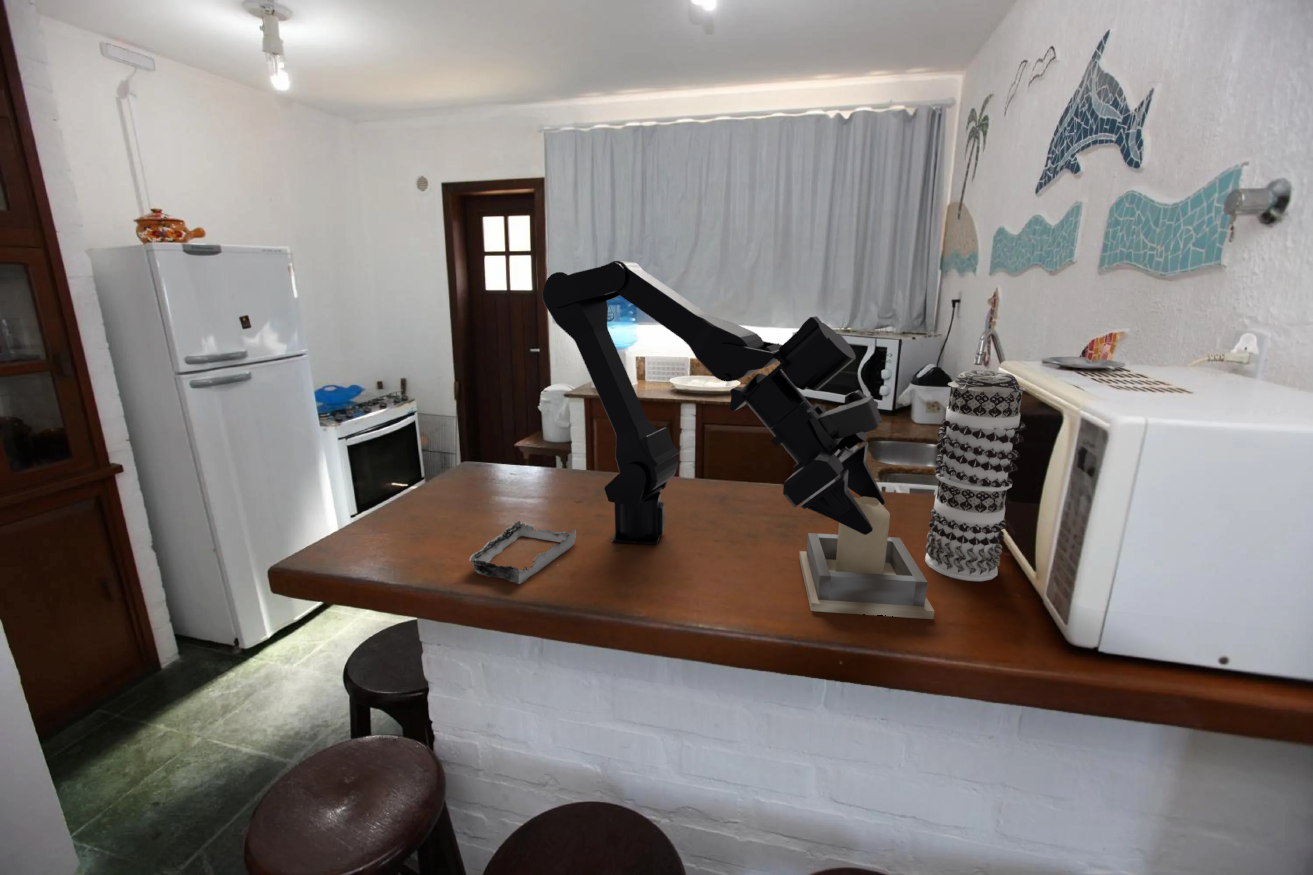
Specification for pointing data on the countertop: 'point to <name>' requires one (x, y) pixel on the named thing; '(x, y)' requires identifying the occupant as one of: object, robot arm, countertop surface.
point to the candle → (864, 541)
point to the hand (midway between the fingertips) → (876, 517)
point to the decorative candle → (974, 475)
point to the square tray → (864, 582)
